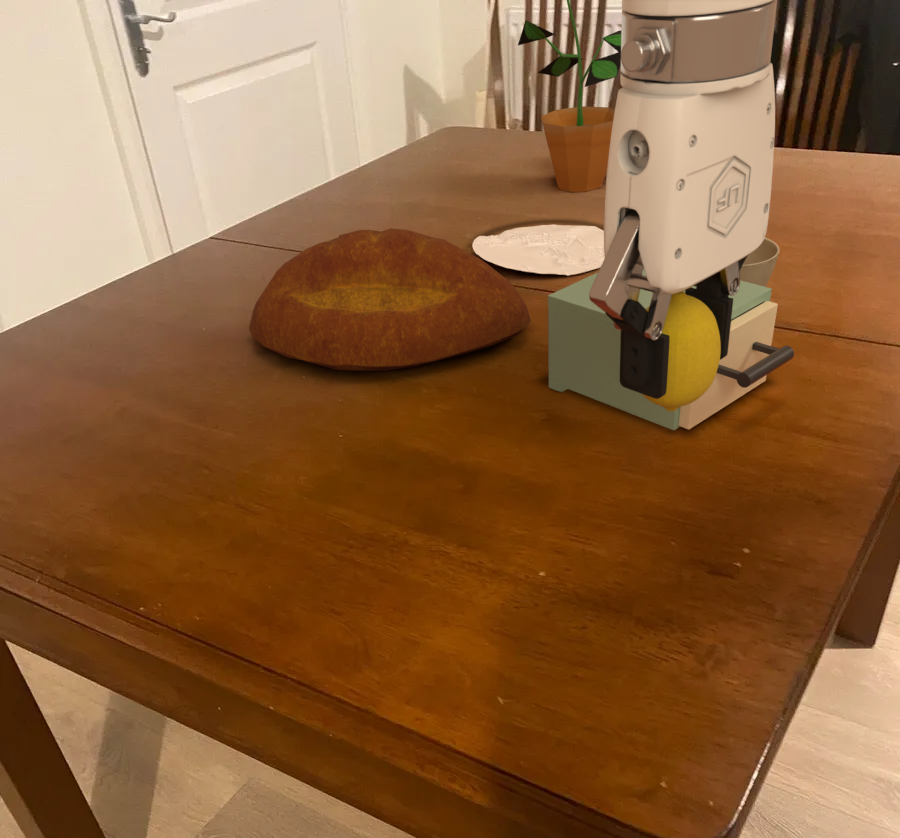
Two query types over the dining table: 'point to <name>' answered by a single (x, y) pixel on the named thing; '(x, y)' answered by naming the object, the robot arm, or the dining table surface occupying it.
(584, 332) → the cabinet
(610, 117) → the potted plant
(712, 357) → the lemon
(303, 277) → the bread
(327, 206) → the dining table surface
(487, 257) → the plaque
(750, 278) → the flower pot
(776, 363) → the drawer
